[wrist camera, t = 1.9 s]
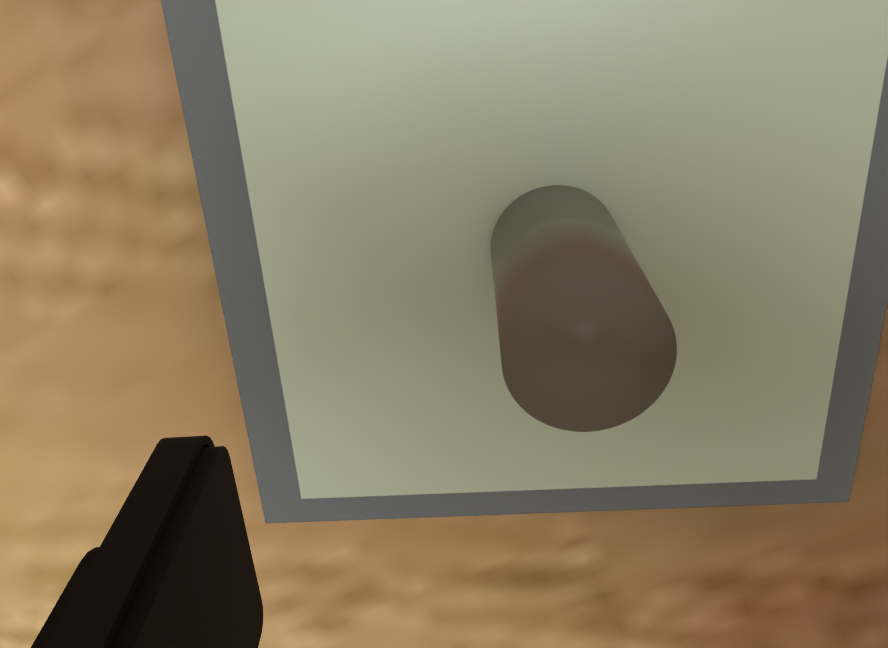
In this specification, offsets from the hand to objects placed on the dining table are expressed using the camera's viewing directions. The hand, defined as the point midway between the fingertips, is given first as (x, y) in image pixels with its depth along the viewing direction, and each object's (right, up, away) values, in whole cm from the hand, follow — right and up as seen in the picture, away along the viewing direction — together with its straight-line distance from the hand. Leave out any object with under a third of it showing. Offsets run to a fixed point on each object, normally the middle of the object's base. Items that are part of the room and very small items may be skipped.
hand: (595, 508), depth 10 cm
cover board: (+1, +5, +11) cm, 12 cm away
